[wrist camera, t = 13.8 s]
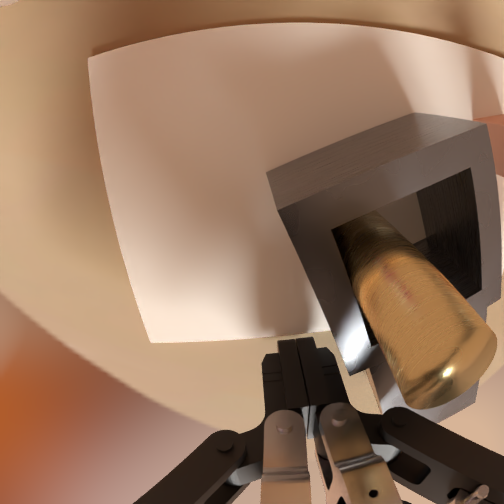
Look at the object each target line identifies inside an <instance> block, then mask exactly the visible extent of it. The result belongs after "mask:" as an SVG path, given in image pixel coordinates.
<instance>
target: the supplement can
mask: <svg viewBox="0 0 504 504" xmlns="http://www.w3.org/2000/svg"><path fill="white" fill-rule="evenodd" d="M17 1H19V0H0V7H1V6H8V5H11V4H13V3H15V2H17Z"/></svg>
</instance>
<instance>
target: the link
mask: <svg viewBox="0 0 504 504" xmlns="http://www.w3.org/2000/svg"><path fill="white" fill-rule="evenodd" d="M266 175H267V178H268V181H269V185H270V188H271V191H272V195H273V198H274V202H275V205H276V209H277V211H278V214H279V216H280V218H281V220H282V222H283V224H284V226H285V228H286V231H287V233H288V235H289V237H290V239H291V241H292V244H293V246H294V248H295V250H296V252H297V255H298V257H299V259H300V261H301V263H302V266H303V268H304V270H305V272H306V275H307V277H308V279H309V281H310V284H311V286H312V288H313V290H314V293H315V295H316V297H317V299H318V302H319V304H320V306H321V309H322V311H323V313H324V316H325V318H326V320H327V323H328V325H329V327H330V330H331V332H332V334H333V337H334V339H335V341H336V344H337V346H338V349H339V351H340V353H341V356H342V358H343V361H344V363H345V365H346V368H347V370H348V373H349V375H350V376H351V375H353V374H356V373H358V372H361V371H363V370H366V373H367V376H368V379H369V382H370V385H371V387H372V390H373V393H374V396H375V398H376V401H377V404H378V407H379V410H380V412H381V415H383V414H384V412H385V411H387V410H388V409H390V408H393V407H405V408H408V409H410V410H412V411H414V412H415V413H417V414H419V415H421V416H423V417H425V418H427V419H429V420H431V421H433V422H434V423H436V424H437V423H439V422H440V421H442V420H444V419H446V418H448V417H450V416H452V415H454V414H455V413H457V412H459V411H461V410H463V409H465V408H466V407H468V406H470V405H471V404H473V403H475V400H476V395H477V389H478V384H479V380H478V381H477V382H476V383H475V384H474V385H472V386H471V387H470V388H469V389H468V390H467V391H465V392H464V393H463V394H461V395H460V396H458V397H457V398H455V399H453V400H451V401H450V402H448V403H445V404H443V405H441V406H438V407H435V408H431V409H424V410H418V409H413V408H411V407H409V406H407V404H406V403H405V401H404V399H403V397H402V394H401V392H400V390H399V387H398V385H397V383H396V381H395V378H394V376H393V374H392V372H391V369H390V367H389V365H388V363H387V361H386V358H385V356H384V354H383V352H382V350H381V348H380V346H379V344H378V341H377V339H376V337H375V335H374V333H373V331H372V329H371V327H370V325H369V323H368V321H367V319H366V317H365V315H364V313H363V311H362V309H361V307H360V305H359V303H358V301H357V299H356V297H355V295H354V292H353V289H352V286H351V283H350V280H349V277H348V275H347V272H346V269H345V266H344V263H343V261H342V258H341V255H340V252H339V250H338V247H337V244H336V242H335V239H334V237H333V234H332V231H331V229H333V228H335V227H337V226H340V225H342V224H344V223H347V222H349V221H351V220H353V219H356V218H358V217H360V216H363V215H365V214H367V213H369V212H372V211H374V210H376V209H378V208H381V207H383V206H385V205H387V204H390V203H392V202H394V201H396V200H399V199H401V198H403V197H405V196H408V195H410V194H412V193H414V192H416V194H417V198H418V202H419V206H420V211H421V215H422V220H423V225H424V230H425V235H426V238H424V239H422V240H420V241H418V242H416V243H414V244H413V245H414V246H415V247H416V248H417V249H418V250H419V251H420V252H421V253H422V254H423V255H424V256H425V257H426V258H427V259H428V260H429V261H430V262H431V263H432V264H433V265H434V266H435V267H436V268H437V269H438V270H439V271H440V273H441V274H442V275H443V276H444V277H445V278H446V279H447V280H448V281H449V282H450V283H451V284H452V285H453V286H454V287H455V288H456V290H457V291H458V292H459V293H460V294H461V295H462V296H463V297H464V298H465V300H466V301H467V302H468V303H469V304H470V305H471V306H472V307H473V309H474V310H475V311H476V312H477V313H478V314H479V316H480V317H481V318H482V319H483V320H484V321H485V323H486V315H487V307H488V306H489V305H491V304H493V303H494V302H496V301H497V300H499V299H500V298H501V278H502V238H501V218H500V205H499V195H498V186H497V178H496V171H495V164H494V158H493V152H492V147H491V142H490V137H489V132H488V128H487V124H486V123H481V122H476V121H471V120H465V119H459V118H453V117H447V116H440V115H432V114H424V113H416V112H414V113H411V114H408V115H405V116H403V117H400V118H397V119H394V120H392V121H389V122H386V123H384V124H381V125H378V126H376V127H373V128H370V129H368V130H365V131H363V132H360V133H358V134H355V135H352V136H350V137H347V138H345V139H342V140H340V141H338V142H335V143H333V144H330V145H328V146H325V147H323V148H321V149H318V150H316V151H313V152H311V153H309V154H306V155H304V156H302V157H299V158H297V159H295V160H292V161H290V162H288V163H286V164H283V165H281V166H279V167H277V168H274V169H272V170H270V171H268V172H266Z"/></svg>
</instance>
